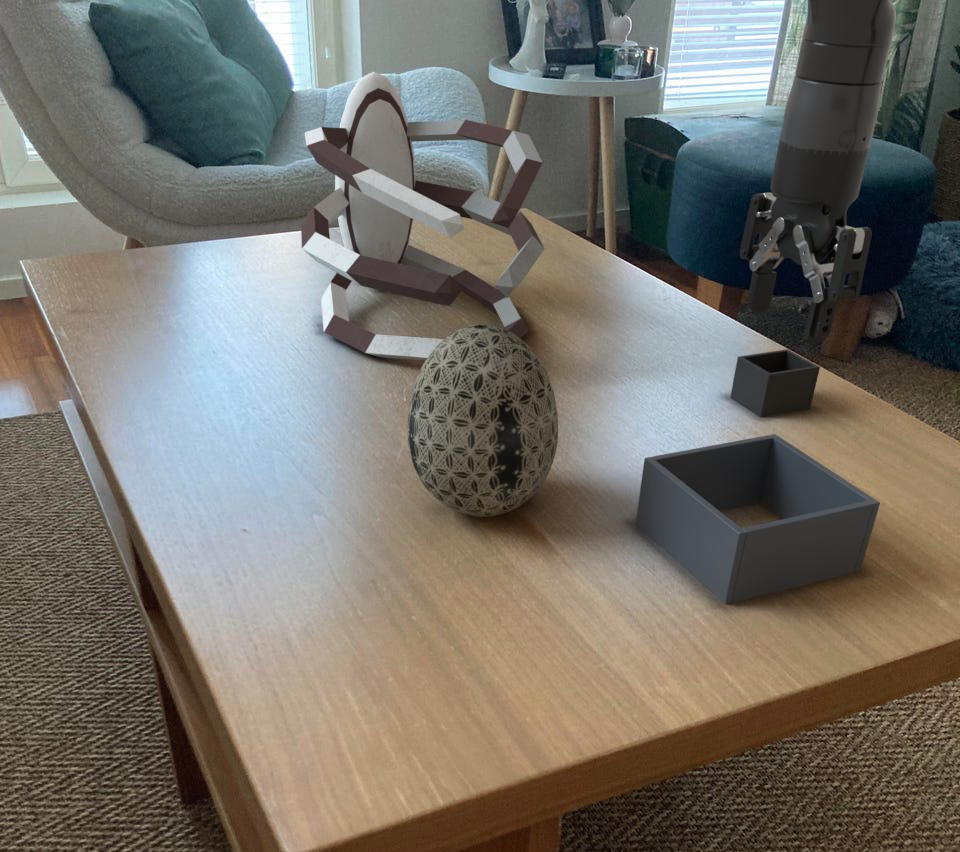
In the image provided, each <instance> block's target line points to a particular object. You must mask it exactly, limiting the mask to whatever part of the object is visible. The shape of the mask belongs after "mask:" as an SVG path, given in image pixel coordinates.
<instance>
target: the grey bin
mask: <svg viewBox="0 0 960 852" xmlns="http://www.w3.org/2000/svg"><path fill="white" fill-rule="evenodd" d="M757 503H760V504H762V505H763V506H764V507H765V508H767V509H768V510H769V511H770V512H772V513H773V514H775V515H776V516H778V517H779V518H780V519H779V520H774V521H769V522H764V523H760V524H756V525H751V526H747V527H740V526H739V525H738V524H737V523H735V522H734V521H733V520H732V519H731V518H729V517H728V516H727V515H725V514H724V513H723V512H722V511H724V510H728V509H734V508H738V507H743V506H748V505H752V504H757ZM880 505H881V502H880V501H879V500H878V499H875V498H874V497H872V496H871V495H869V494H868V493H866V492H865V491H864V490H862V489H860V488H858V487H857V486H855V485H854V484H853V483H851V482H849V481H848V480H846V479H845V478H844V477H842V476H840V475H839V474H837V473H836V472H834V471H833V470H831V469H829V468H828V467H826V465H824V464H822V463H820V462H819V461H817V460H816V459H814V458H812V456H810V455H808V454H807V453H805V452H803V451H802V450H800V449H799V448H798V447H796V446H795V445H793V444H791V443H790V442H788V441H786V440H785V439H783V437H780V436H779V435H777V434H776V433H772V434H767V435H762V436H757V437H751V438H745V439H740V440H734V441H731V442H730V441H729V442H723V443H719V444H713V445H708V446H701V447H695V448H692V449H691V448H690V449H686V450H681V451H674V452H670V453H669V452H668V453H663V454H658V455H653V456H647V457H644V460H643V467H642V474H641V482H640V489H639V497H638V504H637V511H636V517H635V525H636V526H637V527H638V528H639V529H640V530H641V531H643V533H645V534H646V535H647V536H648V537H649V539H651V540H653V541H654V542H655V543H656V544H657V546H659V547H660V548H661V549H662V550H663V551H665V552H666V553H667V554H668V555H669V556H670V557H671V558H672V559H674V560H675V561H676V562H677V563H678V564H679V565H680V566H681V567H682V568H684V569H685V571H686V572H688V573H689V574H690V575H691V576H693V577H694V578H695V579H696V580H697V581H698V582H699V583H700V584H701V585H702V586H703V587H704V588H706V589H707V590H708V591H709V592H710V593H711V594H712V595H713V596H715V598H717V599H718V600H719V601H720V602H721V603H723V604H724V605H730V604H733V603H736V602H737V603H738V602H742V601H745V600H749V599H753V598H756V597H757V598H758V597H761V596H764V595H769V594H773V593H777V592H781V591H785V590H789V589H794V588H798V587H802V586H805V585H810V584H814V583H818V582H821V581H825V580H829V579H833V578H839V577H841V576H846V575H849V574H853V573H857V572H860V571H861V569H862V566H863V563H864V559H865V556H866V553H867V550H868V546H869V543H870V539H871V535H872V532H873V528H874V526H875V523H876V519H877V515H878V512H879V510H880V509H879V508H880Z"/></svg>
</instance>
